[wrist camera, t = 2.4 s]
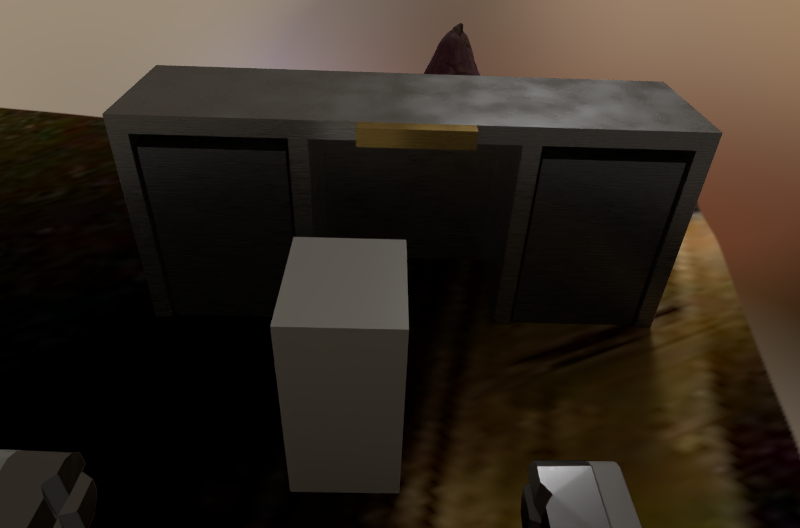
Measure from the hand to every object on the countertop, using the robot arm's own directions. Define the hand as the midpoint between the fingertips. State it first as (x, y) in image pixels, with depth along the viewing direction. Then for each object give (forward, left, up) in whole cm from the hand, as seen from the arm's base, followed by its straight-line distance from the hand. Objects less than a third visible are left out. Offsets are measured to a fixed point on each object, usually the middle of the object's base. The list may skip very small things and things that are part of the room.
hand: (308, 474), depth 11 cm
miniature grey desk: (+3, +25, -15) cm, 29 cm away
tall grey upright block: (0, +12, -15) cm, 19 cm away
